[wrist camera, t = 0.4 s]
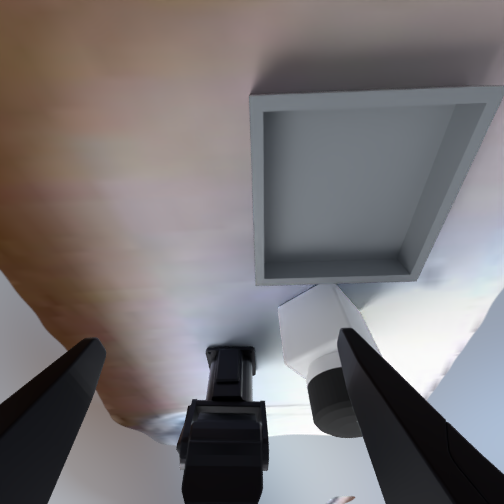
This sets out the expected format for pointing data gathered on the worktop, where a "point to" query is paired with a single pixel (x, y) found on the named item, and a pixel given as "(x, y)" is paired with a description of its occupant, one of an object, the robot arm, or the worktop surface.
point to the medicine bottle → (322, 353)
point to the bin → (359, 179)
